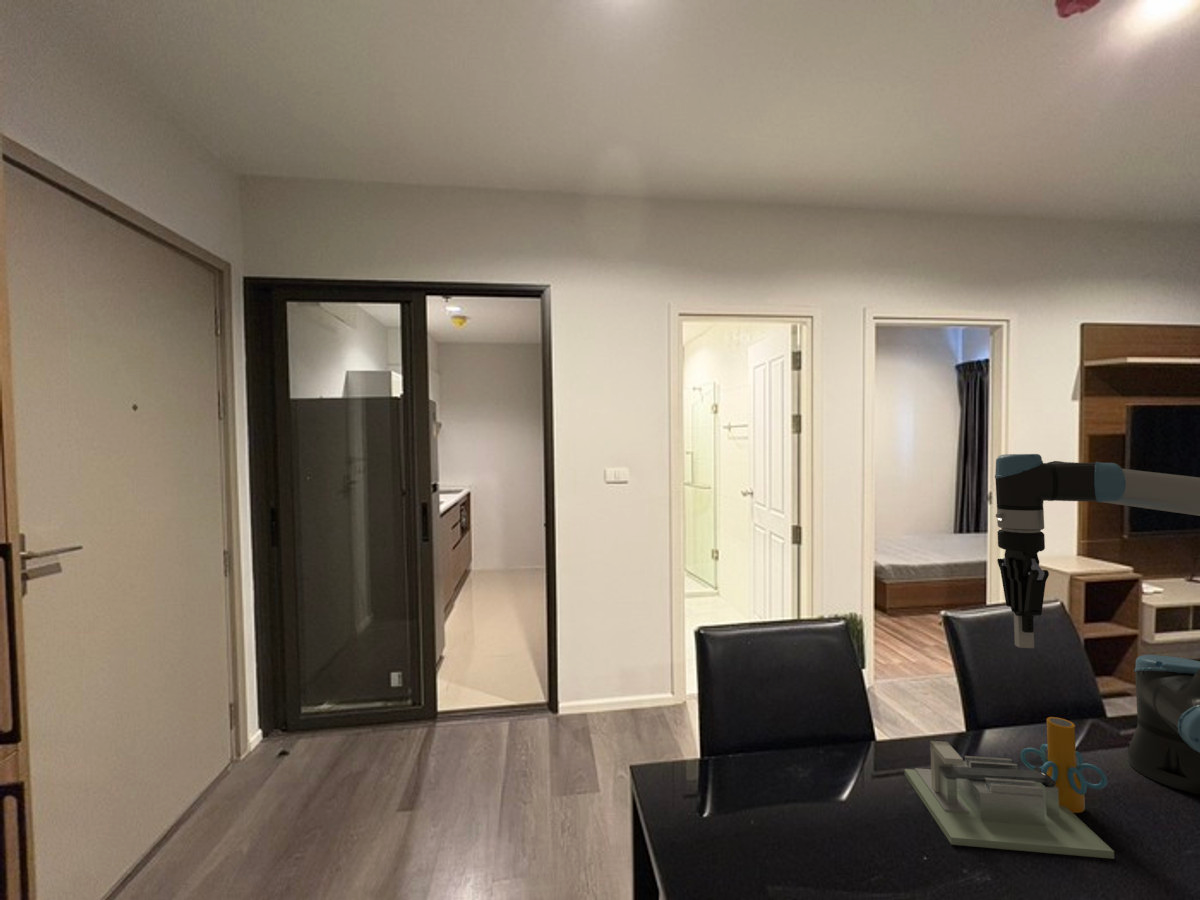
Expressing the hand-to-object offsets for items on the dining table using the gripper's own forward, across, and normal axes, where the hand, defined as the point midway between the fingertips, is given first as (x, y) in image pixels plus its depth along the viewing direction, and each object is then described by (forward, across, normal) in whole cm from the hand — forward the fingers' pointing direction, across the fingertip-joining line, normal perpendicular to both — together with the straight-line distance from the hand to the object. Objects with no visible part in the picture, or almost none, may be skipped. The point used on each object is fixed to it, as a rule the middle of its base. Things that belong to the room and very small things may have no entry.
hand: (1024, 646), depth 108 cm
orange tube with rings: (+26, +8, +1) cm, 28 cm away
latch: (+25, +12, -20) cm, 34 cm away
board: (+26, +12, -12) cm, 31 cm away
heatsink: (+25, +12, -12) cm, 30 cm away
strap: (+20, +12, -12) cm, 26 cm away
